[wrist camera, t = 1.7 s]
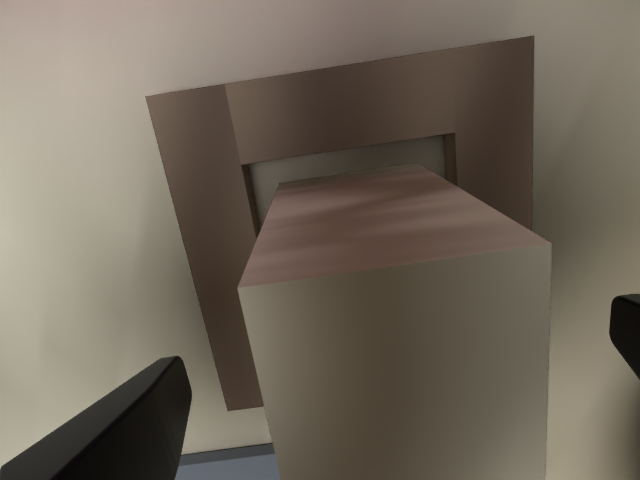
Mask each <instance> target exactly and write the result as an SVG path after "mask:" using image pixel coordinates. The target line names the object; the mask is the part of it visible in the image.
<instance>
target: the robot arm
mask: <svg viewBox="0 0 640 480" xmlns="http://www.w3.org/2000/svg"><path fill="white" fill-rule="evenodd" d="M609 334H610V338H611V341H612V343H613V345H614V346H615V347H616V349H617V350H618V351H619V353H620V354H621V355H622V357H623V358H624V359H625V361H626V362H627V363H628V365H629V366H630V367H631V369H632V370H633V371H634V373H635V374H636V375H637V377H638V378H639V380H640V294H628V295H621V296H617V297H615V298H614V299H613V301H612V305H611V316H610V329H609ZM191 400H192V391H191V386H190V383H189V379H188V376H187V372H186V369H185V366H184V362H183V360H182V359H181V358H180V357H179V356H173V357H166V358H161V359H159V360H157V361H156V362H154V363H153V364H151V365H150V366H148V367H147V368H145V369H144V370H143V371H141V372H140V373H138V374H137V375H135V376H134V377H132V378H131V379H129V380H128V381H126V382H125V383H123V384H122V385H120V386H119V387H118V388H116V389H115V390H113V391H112V392H110V393H109V394H107V395H106V396H104V397H103V398H101V399H100V400H98V401H97V402H95V403H94V404H93V405H91V406H90V407H88V408H87V409H85V410H84V411H82V412H81V413H79V414H78V415H76V416H75V417H73V418H72V419H70V420H69V421H68V422H66V423H65V424H63V425H62V426H60V427H59V428H57V429H56V430H54V431H53V432H51V433H50V434H48V435H47V436H45V437H44V438H43V439H41V440H40V441H38V442H37V443H35V444H34V445H32V446H31V447H29V448H28V449H26V450H25V451H23V452H22V453H20V454H19V455H18V456H16V457H15V458H13V459H12V460H10V461H9V462H7V463H6V464H4V465H3V466H2V467H1V469H0V480H175V477H176V474H177V470H178V466H179V462H180V457H181V452H182V447H183V442H184V436H185V431H186V426H187V421H188V416H189V410H190V405H191Z"/></svg>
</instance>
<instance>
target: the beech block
mask: <svg viewBox="0 0 640 480" xmlns="http://www.w3.org/2000/svg"><path fill="white" fill-rule="evenodd" d="M551 265H552V243H550V242H549V241H547V240H545V239H544V238H542V237H540V236H539V235H537V234H535V233H534V232H532V231H530V230H529V229H527V228H525V227H524V226H522V225H520V224H519V223H517V222H515V221H514V220H512V219H510V218H509V217H507V216H505V215H504V214H502V213H500V212H499V211H497V210H495V209H494V208H492V207H490V206H489V205H487V204H485V203H484V202H482V201H480V200H479V199H477V198H475V197H474V196H472V195H470V194H469V193H467V192H465V191H464V190H462V189H460V188H459V187H457V186H455V185H454V184H452V183H450V182H449V181H447V180H445V179H444V178H442V177H440V176H439V175H437V174H435V173H434V172H432V171H430V170H429V169H427V168H425V167H424V166H422V165H420V164H419V163H412V164H405V165H398V166H391V167H385V168H378V169H371V170H364V171H358V172H351V173H344V174H338V175H331V176H324V177H317V178H311V179H304V180H297V181H291V182H284V183H279V185H278V188H277V190H276V193H275V195H274V198H273V200H272V203H271V205H270V208H269V210H268V213H267V215H266V218H265V220H264V223H263V225H262V228H261V230H260V233H259V235H258V238H257V240H256V243H255V245H254V248H253V250H252V253H251V255H250V258H249V260H248V263H247V265H246V268H245V270H244V273H243V275H242V278H241V280H240V283H239V285H238V288H237V289H238V294H239V298H240V302H241V307H242V311H243V315H244V320H245V324H246V329H247V333H248V337H249V342H250V346H251V351H252V355H253V359H254V364H255V368H256V372H257V377H258V381H259V386H260V390H261V394H262V399H263V403H264V408H265V412H266V416H267V421H268V425H269V429H270V434H271V438H272V443H273V447H274V451H275V456H276V460H277V465H278V469H279V473H280V478H281V480H545V478H546V443H547V407H548V371H549V336H550V300H551Z"/></svg>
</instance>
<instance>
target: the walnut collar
mask: <svg viewBox="0 0 640 480" xmlns="http://www.w3.org/2000/svg"><path fill="white" fill-rule="evenodd" d="M533 87H534V36H529V37H522V38H516V39H509V40H503V41H497V42H490V43H484V44H478V45H471V46H465V47H458V48H452V49H446V50H439V51H433V52H426V53H420V54H414V55H407V56H401V57H395V58H388V59H382V60H375V61H369V62H363V63H356V64H350V65H343V66H337V67H331V68H324V69H318V70H311V71H305V72H299V73H292V74H286V75H280V76H273V77H267V78H260V79H254V80H248V81H241V82H235V83H228V84H222V85H216V86H209V87H203V88H197V89H190V90H184V91H177V92H171V93H165V94H158V95H152V96H145V97H146V101H147V105H148V109H149V113H150V116H151V120H152V124H153V128H154V132H155V135H156V139H157V143H158V147H159V151H160V155H161V158H162V162H163V166H164V170H165V174H166V177H167V181H168V185H169V189H170V193H171V197H172V200H173V204H174V208H175V212H176V216H177V219H178V223H179V227H180V231H181V235H182V238H183V242H184V246H185V250H186V254H187V258H188V261H189V265H190V269H191V273H192V277H193V280H194V284H195V288H196V292H197V296H198V300H199V303H200V307H201V311H202V315H203V319H204V322H205V326H206V330H207V334H208V338H209V341H210V345H211V349H212V353H213V357H214V361H215V364H216V368H217V372H218V376H219V380H220V383H221V387H222V391H223V395H224V399H225V403H226V406H227V410H228V411H232V410H240V409H247V408H255V407H262V406H264V403H263V399H262V394H261V390H260V386H259V381H258V377H257V372H256V368H255V364H254V359H253V355H252V351H251V346H250V342H249V337H248V333H247V329H246V324H245V320H244V315H243V311H242V307H241V302H240V298H239V294H238V289H237V288H238V285H239V283H240V280H241V278H242V275H243V273H244V270H245V268H246V265H247V263H248V260H249V258H250V255H251V253H252V250H253V248H254V245H255V243H256V240H257V238H258V235H259V233H260V225H259V220H258V215H257V210H256V205H255V200H254V195H253V190H252V185H251V180H250V175H249V170H248V165H247V164H249V163H256V162H263V161H269V160H276V159H283V158H289V157H296V156H303V155H309V154H316V153H322V152H329V151H336V150H342V149H349V148H356V147H362V146H369V145H376V144H382V143H389V142H395V141H402V140H409V139H415V138H422V137H429V136H435V135H442V134H444V138H445V157H446V176H447V181H449V182H450V183H452V184H454V185H455V186H457V187H459V188H460V189H462V190H464V191H465V192H467V193H469V194H470V195H472V196H474V197H475V198H477V199H479V200H480V201H482V202H484V203H485V204H487V205H489V206H490V207H492V208H494V209H495V210H497V211H499V212H500V213H502V214H504V215H505V216H507V217H509V218H510V219H512V220H514V221H515V222H517V223H519V224H520V225H522V226H524V227H525V228H527V229H529V230H530V231H532V172H533Z"/></svg>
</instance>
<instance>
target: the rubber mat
mask: <svg viewBox="0 0 640 480" xmlns="http://www.w3.org/2000/svg"><path fill="white" fill-rule="evenodd" d="M175 480H281V478H280V473H279V469H278V465H277V460H276V456H275V451H274V447H273V444H265V445H258V446H250V447H242V448H235V449H227V450H219V451H212V452H204V453H196V454H189V455H181V457H180V462H179V466H178V470H177V474H176V477H175Z"/></svg>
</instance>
